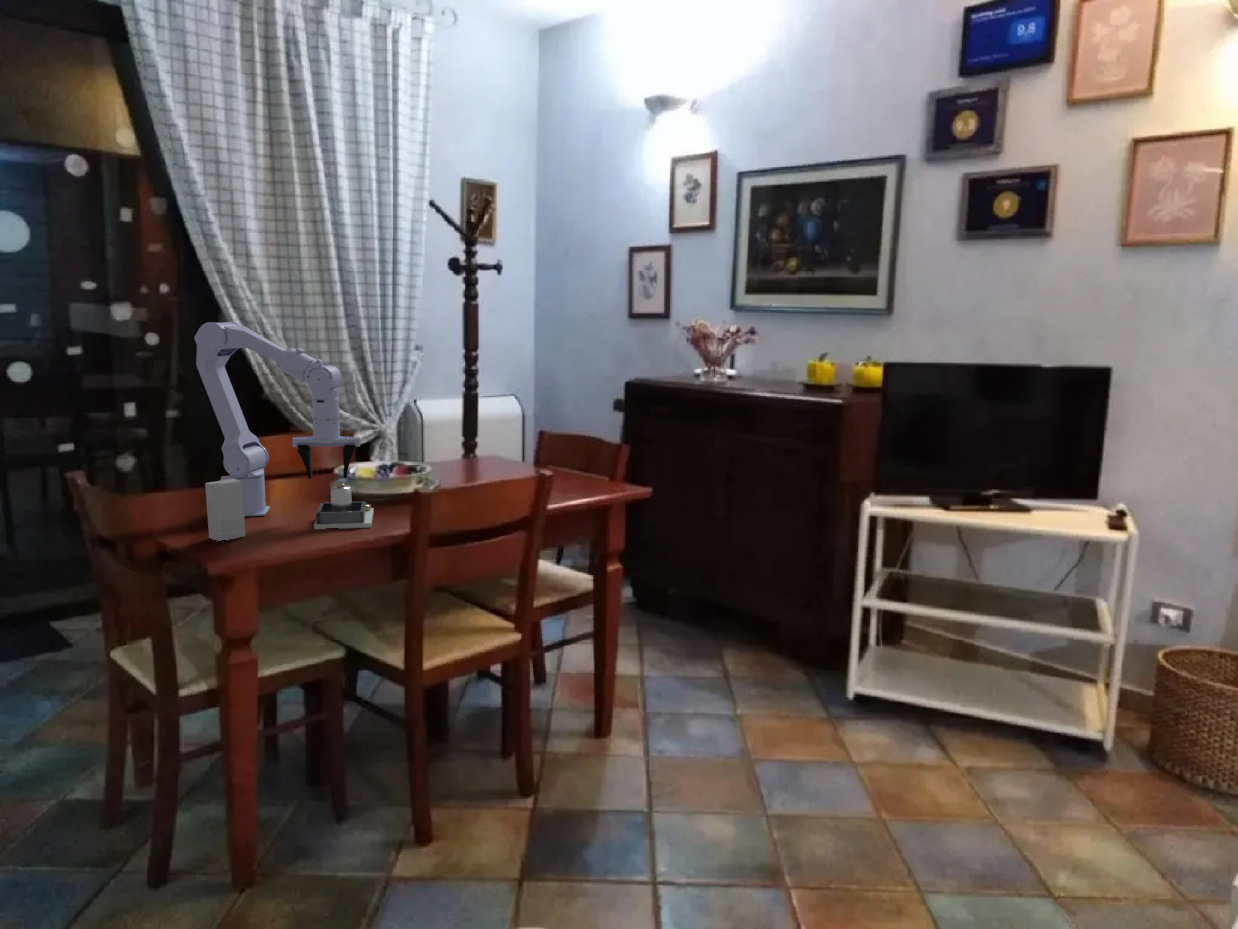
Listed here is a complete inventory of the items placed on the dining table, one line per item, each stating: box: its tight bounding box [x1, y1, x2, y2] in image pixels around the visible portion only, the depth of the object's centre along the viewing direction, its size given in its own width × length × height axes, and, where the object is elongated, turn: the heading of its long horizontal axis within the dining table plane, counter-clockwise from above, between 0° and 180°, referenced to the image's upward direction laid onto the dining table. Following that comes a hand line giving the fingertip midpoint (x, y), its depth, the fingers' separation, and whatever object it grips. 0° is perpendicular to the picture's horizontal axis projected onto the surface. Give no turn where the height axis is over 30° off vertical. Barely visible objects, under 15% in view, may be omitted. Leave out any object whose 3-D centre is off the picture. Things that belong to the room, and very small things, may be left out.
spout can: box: [330, 482, 353, 512], centre depth 195 cm, size 4×6×8 cm
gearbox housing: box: [313, 501, 374, 530], centre depth 196 cm, size 12×14×4 cm
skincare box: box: [204, 479, 247, 542], centre depth 179 cm, size 6×4×12 cm
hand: (327, 477), depth 198 cm, fingers open, 7 cm apart
